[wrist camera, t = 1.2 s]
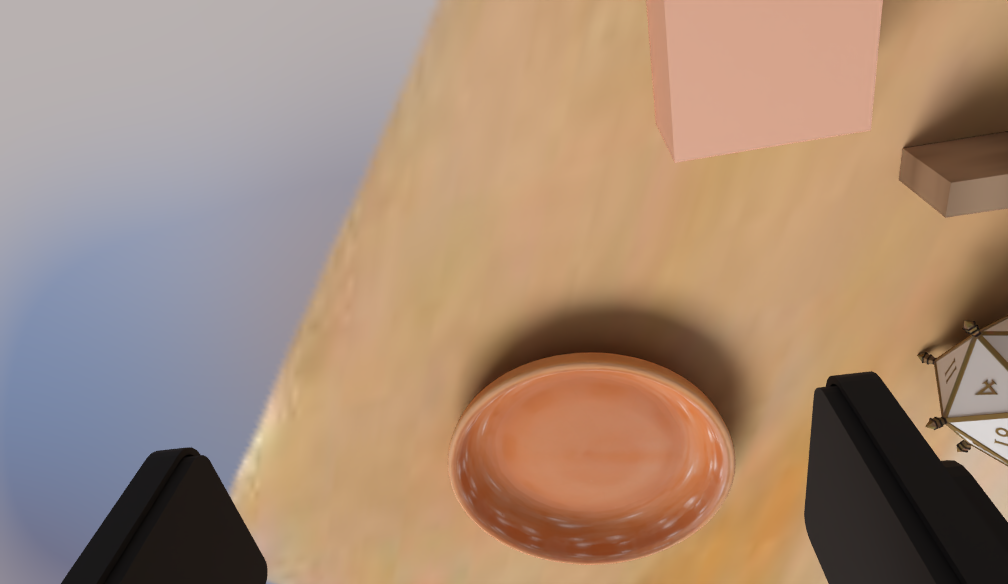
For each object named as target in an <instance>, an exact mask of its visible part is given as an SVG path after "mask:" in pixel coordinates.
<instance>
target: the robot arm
mask: <svg viewBox="0 0 1008 584" xmlns="http://www.w3.org/2000/svg"><path fill="white" fill-rule="evenodd" d="M804 517H805V525H806V529H807V533H808V536H809V539H810V541H811V544H812V546H813V548H814V551H815V553H816V555H817V558H818V560H819V562H820V565H821V567H822V569H823V571H824V574H825V576H826V578H827V581H828V583H829V584H1008V522H1007V521H1006V519H1005V518H1004V517H1003V515H1002V514H1001V513H1000V512H999V510H998V509H997V508H996V506H995V505H994V504H993V502H992V501H991V500H990V498H989V497H988V496H987V494H986V493H985V492H984V491H983V489H982V488H981V487H980V485H979V484H978V483H977V481H976V480H975V479H974V477H973V476H972V475H971V474H970V473H969V472H968V471H967V470H966V468H965V467H964V466H963V465H961V464H959V463H957V462H956V461H951V460H946V461H940V459H939V458H938V457H937V455H936V454H935V453H934V451H933V450H932V448H931V447H930V446H929V444H928V443H927V442H926V440H925V439H924V437H923V436H922V435H921V433H920V432H919V431H918V429H917V428H916V426H915V425H914V424H913V422H912V421H911V419H910V418H909V417H908V415H907V414H906V413H905V411H904V410H903V408H902V407H901V406H900V404H899V403H898V402H897V400H896V399H895V397H894V396H893V395H892V393H891V392H890V391H889V389H888V388H887V386H886V385H885V384H884V382H883V381H882V379H881V378H880V377H879V376H878V375H877V374H876V373H874V372H872V371H871V372H862V373H853V374H844V375H835V376H830V377H829V378H828V380H827V383H826V387H821V388H816V390H815V393H814V401H813V414H812V426H811V438H810V450H809V462H808V475H807V487H806V499H805V511H804ZM266 581H267V564H266V561H265V559H264V557H263V555H262V553H261V552H260V550H259V548H258V546H257V545H256V543H255V541H254V539H253V537H252V536H251V534H250V532H249V530H248V528H247V527H246V525H245V523H244V521H243V519H242V518H241V516H240V514H239V512H238V510H237V509H236V507H235V505H234V503H233V501H232V500H231V498H230V496H229V494H228V493H227V491H226V489H225V487H224V485H223V484H222V482H221V480H220V478H219V477H218V475H217V473H216V471H215V469H214V467H213V466H212V464H211V462H210V460H209V459H208V458H207V457H206V456H204V455H200V454H199V452H198V451H197V450H195V449H193V448H179V449H170V450H161V451H156V452H154V453H151V454H150V455H149V457H148V458H147V459H146V460H145V462H144V463H143V465H142V466H141V468H140V469H139V470H138V472H137V473H136V475H135V476H134V478H133V479H132V481H131V482H130V484H129V485H128V487H127V488H126V490H125V491H124V493H123V494H122V495H121V497H120V498H119V500H118V501H117V503H116V504H115V505H114V507H113V508H112V510H111V511H110V513H109V514H108V516H107V517H106V519H105V520H104V521H103V523H102V525H101V526H100V527H99V529H98V531H97V532H96V533H95V535H94V536H93V538H92V539H91V540H90V542H89V543H88V545H87V546H86V548H85V549H84V551H83V552H82V554H81V555H80V556H79V558H78V559H77V561H76V562H75V564H74V565H73V567H72V568H71V570H70V571H69V572H68V574H67V575H66V577H65V579H64V580H63V581H62V583H61V584H266Z"/></svg>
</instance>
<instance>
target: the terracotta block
mask: <svg viewBox="0 0 1008 584" xmlns="http://www.w3.org/2000/svg"><path fill="white" fill-rule="evenodd" d="M646 4H647V17H648V29H649V42H650V55H651V68H652V80H653V93H654V106H655V119H656V125H657V127H658V129H659V131H660V133H661V136H662V138H663V140H664V142H665V144H666V146H667V148H668V150H669V152H670V154H671V156H672V158H673V160H674V162H675V163H676V162H682V161H688V160H694V159H700V158H706V157H712V156H718V155H724V154H731V153H737V152H743V151H749V150H755V149H761V148H767V147H773V146H779V145H785V144H791V143H797V142H804V141H810V140H816V139H822V138H828V137H834V136H840V135H846V134H852V133H858V132H864V131H871V123H872V112H873V101H874V90H875V80H876V69H877V58H878V47H879V36H880V25H881V14H882V4H883V0H646Z"/></svg>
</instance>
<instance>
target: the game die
mask: <svg viewBox="0 0 1008 584" xmlns="http://www.w3.org/2000/svg"><path fill="white" fill-rule="evenodd" d="M962 329H963V330H966V333H969V334H971V335H970V336H968V337H967V338H965V339H964V340H963V341H961V342H960V343H958V344H957V345H955V346H954V347H952V348H951V349H949V350H948V351H946V352H945V353H944V354H942V355H941V356H939V357H938V358H934V357H933V356H932V355H931V354H930V355H928V354H927V353H925V354H920V355H917V356H918V357H919V358H920V359H921V361H922V363H927V364H934V367H935V374H936V381H937V387H938V394H939V401H940V408H941V415H942V417H941V418H937V417H934V418H933V419H932V418H930V419H929V422H928V423H927V425H926V427H928V428H932V429H934V430H936V429H938V427H939V428H941V427H943V425H944V424H946V425H947V426H948V427H949V428H951V429H952V430H953V431H954V432H955V433H956V434H958V435H959V436H960V437H961V438H962V439H964V440H965V441H964V440H963V441H961V442H960V443H959V444H957V445H956V446H957V452H968V450H970V449H971V445H972V446H973V447H975V448H977V449H979V450H980V451H982V452H984V453H985V454H987V455H989V456H991V457H992V458H994V459H996V460H998V461H999V462H1001V463H1003V464H1005V465H1006V466H1008V315H1007V316H1005V317H1003V318H1001V319H999V320H997V321H995V322H993V323H991V324H990V325H988V326H986V327H984V328H982V329H980V330H979V328H978V325H976V324H975V321H973V322H970V321H966V320H964V327H963V328H962Z"/></svg>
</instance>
